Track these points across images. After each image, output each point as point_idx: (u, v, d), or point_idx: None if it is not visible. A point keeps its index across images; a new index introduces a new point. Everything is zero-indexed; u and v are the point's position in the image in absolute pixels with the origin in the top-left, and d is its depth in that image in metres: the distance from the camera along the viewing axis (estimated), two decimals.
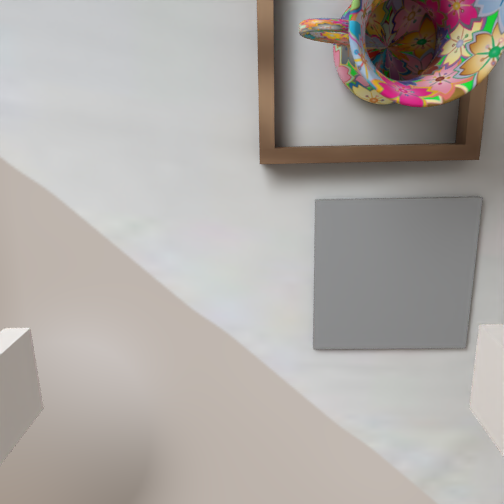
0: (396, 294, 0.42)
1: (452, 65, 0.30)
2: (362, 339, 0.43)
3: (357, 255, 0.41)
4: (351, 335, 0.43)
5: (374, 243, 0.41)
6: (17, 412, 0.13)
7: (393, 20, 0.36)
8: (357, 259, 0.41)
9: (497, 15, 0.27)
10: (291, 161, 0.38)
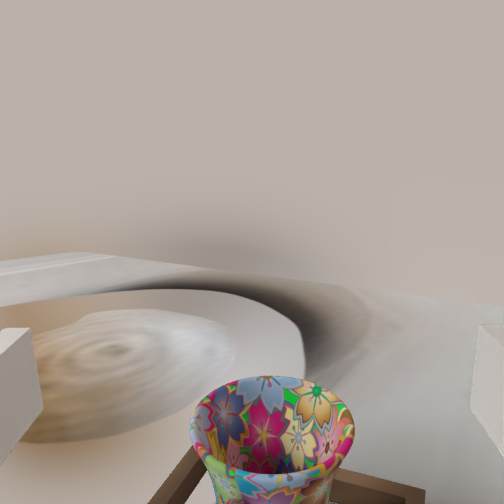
0: None
1: (317, 439, 0.29)
2: None
3: None
4: None
5: None
6: (17, 412, 0.13)
7: None
8: None
9: (286, 389, 0.31)
10: None
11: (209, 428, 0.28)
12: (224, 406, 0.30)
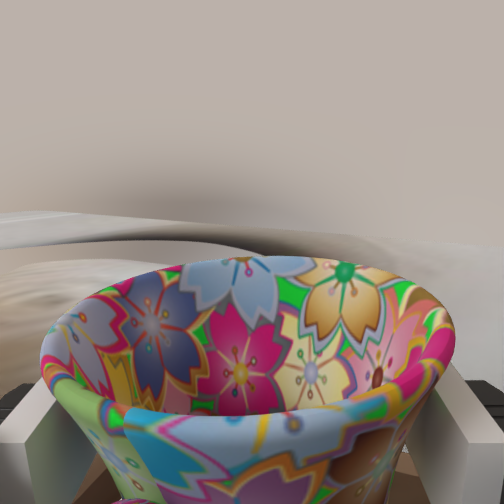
0: None
1: (352, 369, 0.13)
2: None
3: None
4: None
5: None
6: None
7: None
8: None
9: (283, 278, 0.15)
10: None
11: (113, 347, 0.12)
12: (152, 311, 0.14)
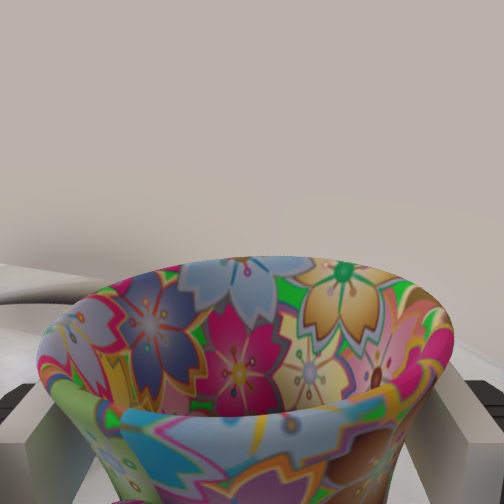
0: None
1: (351, 369, 0.13)
2: None
3: None
4: None
5: None
6: None
7: None
8: None
9: (282, 278, 0.15)
10: None
11: (111, 348, 0.12)
12: (151, 311, 0.14)
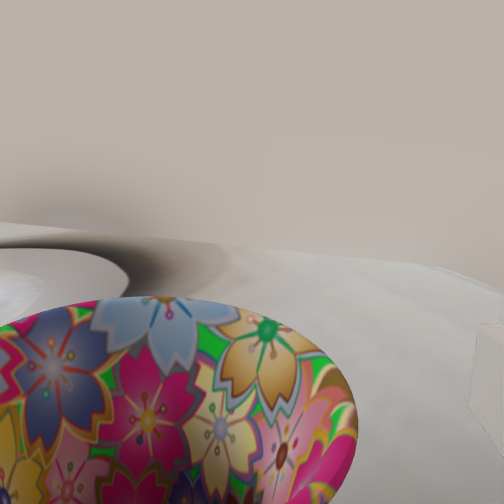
0: None
1: (260, 435, 0.13)
2: None
3: None
4: None
5: None
6: None
7: None
8: None
9: (204, 325, 0.14)
10: None
11: (0, 398, 0.11)
12: (55, 352, 0.13)
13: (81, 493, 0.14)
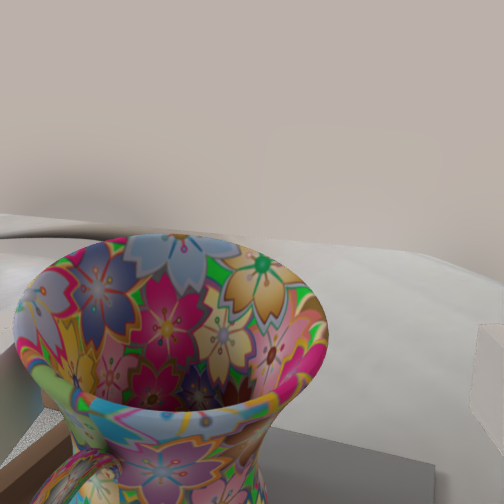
0: None
1: (254, 341, 0.18)
2: None
3: None
4: None
5: None
6: (17, 412, 0.13)
7: None
8: None
9: (212, 258, 0.18)
10: None
11: (65, 312, 0.15)
12: (99, 278, 0.17)
13: (118, 379, 0.18)
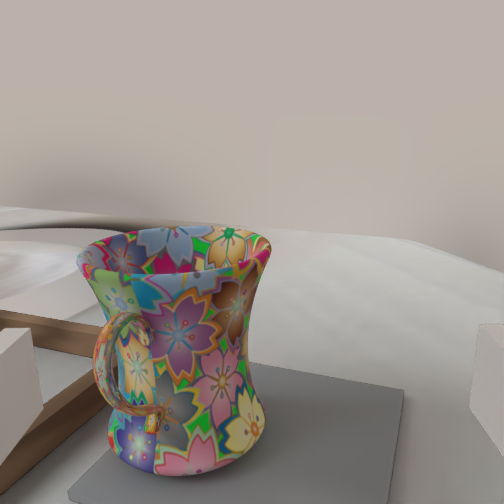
0: (290, 436, 0.25)
1: None
2: (364, 496, 0.21)
3: None
4: None
5: None
6: (17, 412, 0.13)
7: None
8: None
9: (195, 237, 0.27)
10: None
11: None
12: (122, 255, 0.25)
13: None
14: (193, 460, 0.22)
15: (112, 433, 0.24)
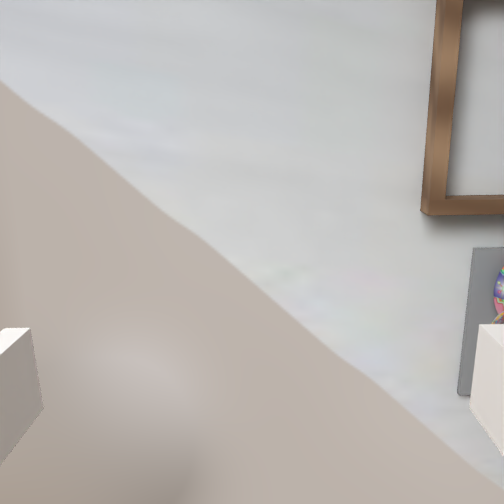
0: None
1: None
2: None
3: None
4: None
5: None
6: (17, 412, 0.13)
7: None
8: None
9: None
10: (461, 212, 0.37)
11: None
12: None
13: None
14: None
15: None
